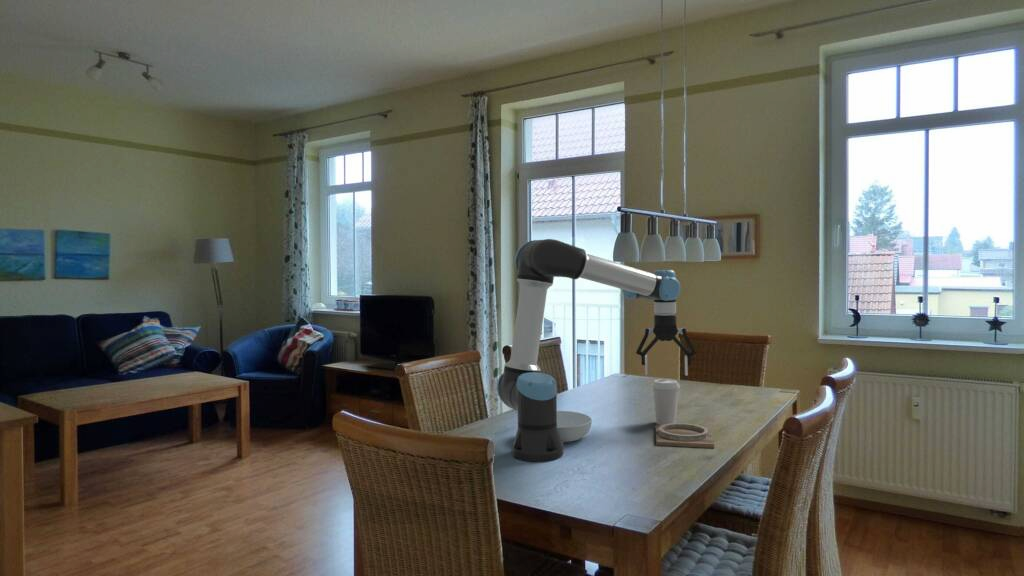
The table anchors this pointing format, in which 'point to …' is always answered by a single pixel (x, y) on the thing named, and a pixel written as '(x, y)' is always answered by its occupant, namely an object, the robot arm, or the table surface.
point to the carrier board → (683, 435)
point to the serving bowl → (572, 425)
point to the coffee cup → (665, 400)
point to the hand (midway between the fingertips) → (666, 374)
